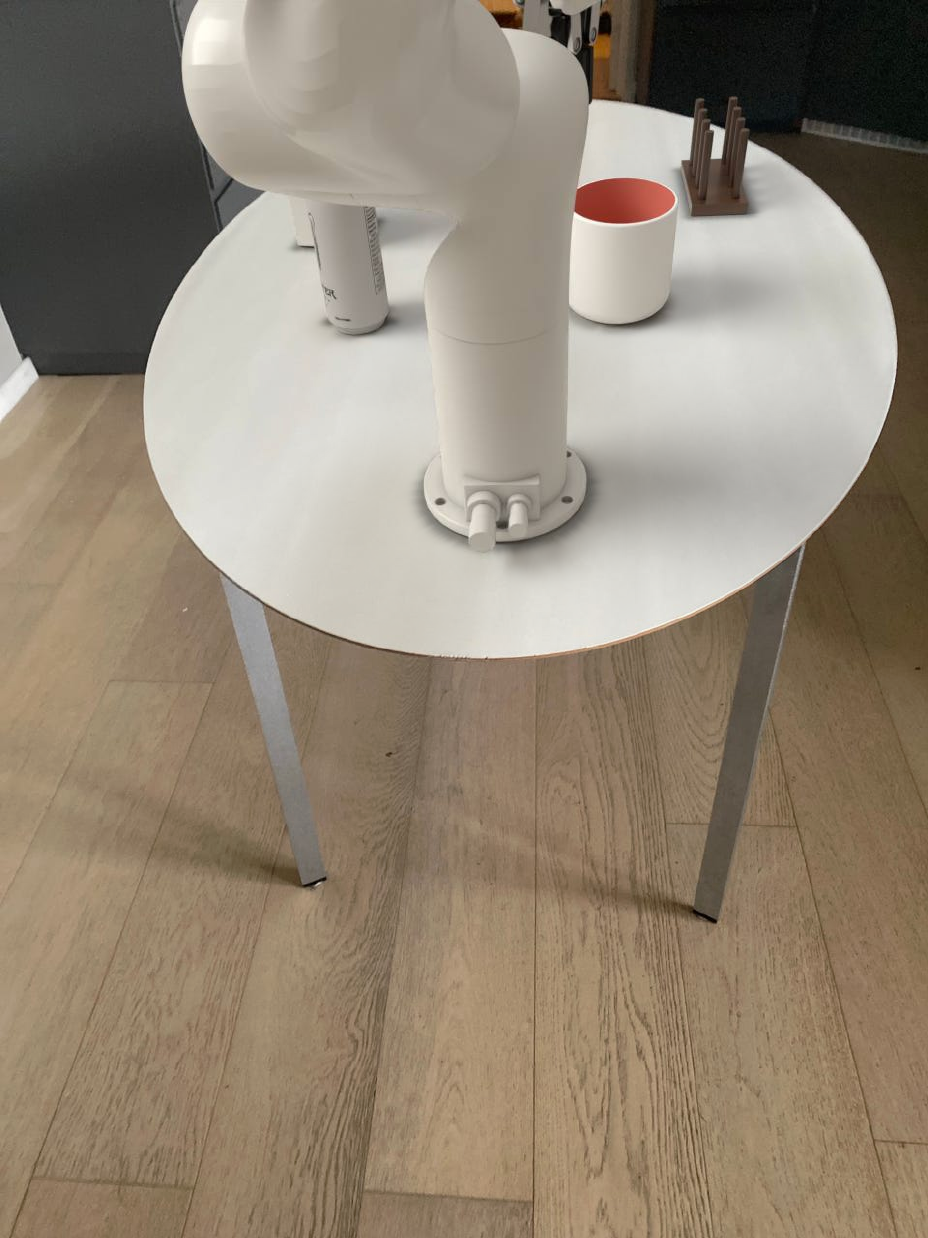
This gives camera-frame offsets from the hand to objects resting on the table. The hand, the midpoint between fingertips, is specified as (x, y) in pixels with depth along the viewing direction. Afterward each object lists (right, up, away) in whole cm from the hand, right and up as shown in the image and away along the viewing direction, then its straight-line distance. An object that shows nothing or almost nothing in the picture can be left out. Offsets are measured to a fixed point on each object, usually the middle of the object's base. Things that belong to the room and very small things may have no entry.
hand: (568, 104), depth 72 cm
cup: (+7, -8, +21) cm, 23 cm away
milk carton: (-22, +4, +35) cm, 41 cm away
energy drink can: (-18, -10, +22) cm, 30 cm away
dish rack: (+20, +10, +36) cm, 42 cm away
